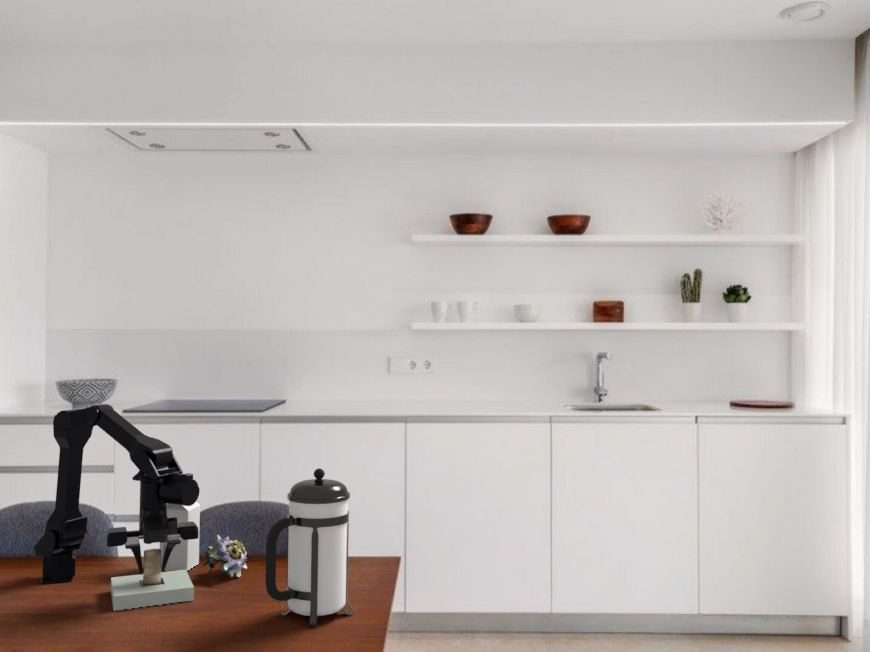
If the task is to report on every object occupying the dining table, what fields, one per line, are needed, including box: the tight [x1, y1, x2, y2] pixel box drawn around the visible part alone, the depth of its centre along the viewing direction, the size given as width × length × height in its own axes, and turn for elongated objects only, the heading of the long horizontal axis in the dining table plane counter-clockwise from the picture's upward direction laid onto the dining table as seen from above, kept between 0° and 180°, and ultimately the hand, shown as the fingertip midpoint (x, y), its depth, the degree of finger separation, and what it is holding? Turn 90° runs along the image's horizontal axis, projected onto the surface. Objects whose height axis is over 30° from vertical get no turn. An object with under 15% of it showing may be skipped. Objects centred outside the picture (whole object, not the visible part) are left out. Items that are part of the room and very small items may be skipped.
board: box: [110, 570, 195, 612], centre depth 168 cm, size 16×14×3 cm
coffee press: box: [265, 468, 354, 628], centre depth 157 cm, size 17×16×30 cm
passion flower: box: [202, 534, 248, 579], centre depth 184 cm, size 11×11×12 cm
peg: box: [142, 548, 161, 587], centre depth 168 cm, size 4×4×10 cm
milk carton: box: [159, 501, 201, 571], centre depth 189 cm, size 7×7×19 cm
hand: (151, 573), depth 169 cm, fingers open, 4 cm apart
